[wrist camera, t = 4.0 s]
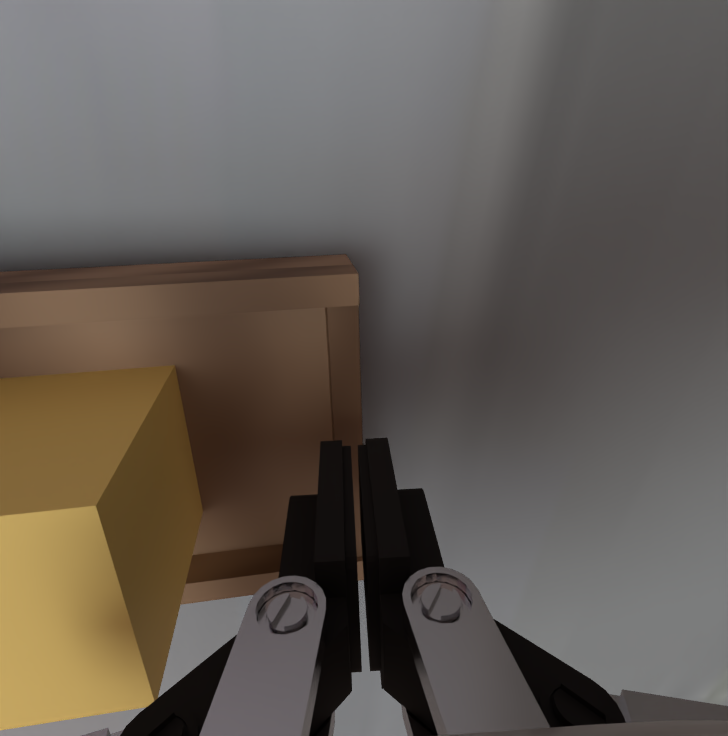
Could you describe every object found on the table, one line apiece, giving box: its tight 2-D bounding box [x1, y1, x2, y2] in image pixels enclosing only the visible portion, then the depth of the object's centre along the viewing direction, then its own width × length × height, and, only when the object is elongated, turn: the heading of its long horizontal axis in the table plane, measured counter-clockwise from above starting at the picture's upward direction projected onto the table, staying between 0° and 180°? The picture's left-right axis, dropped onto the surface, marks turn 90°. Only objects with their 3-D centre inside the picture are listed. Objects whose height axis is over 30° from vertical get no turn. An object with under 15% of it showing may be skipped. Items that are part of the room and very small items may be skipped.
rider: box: [0, 365, 203, 730], centre depth 11 cm, size 6×5×6 cm
